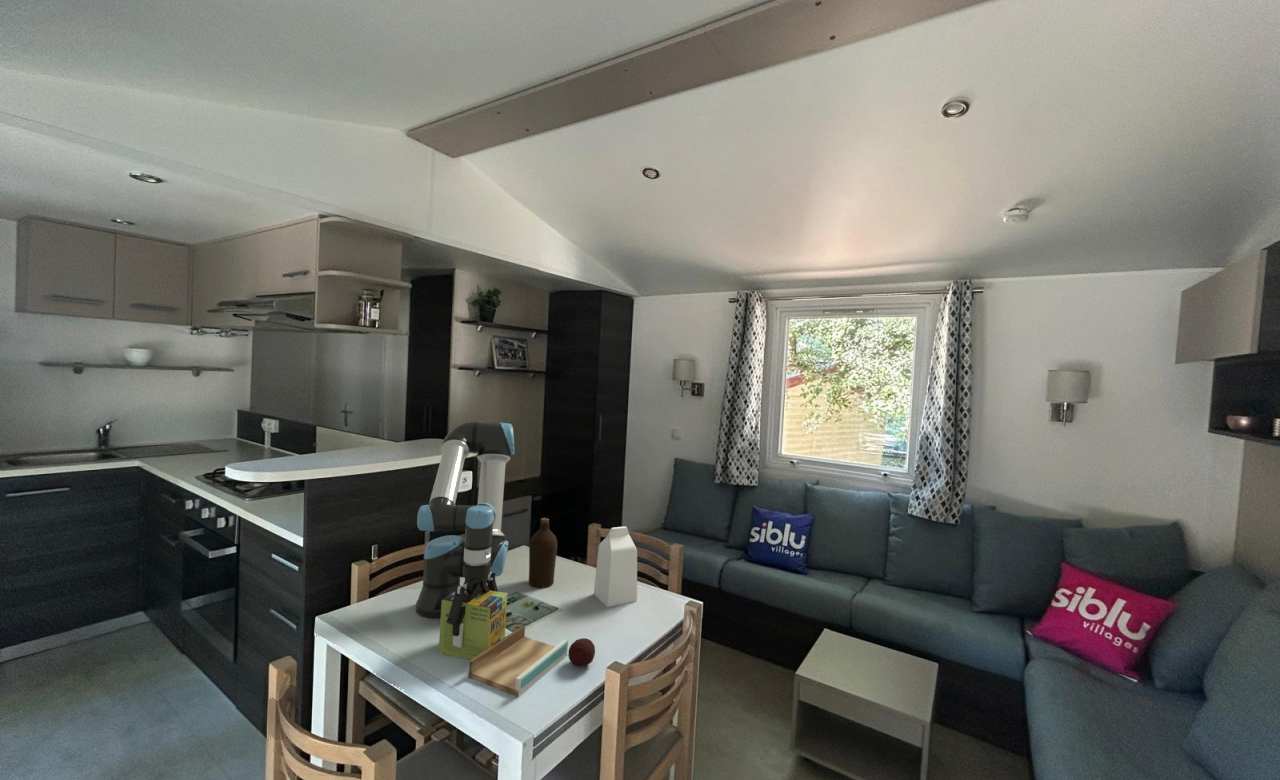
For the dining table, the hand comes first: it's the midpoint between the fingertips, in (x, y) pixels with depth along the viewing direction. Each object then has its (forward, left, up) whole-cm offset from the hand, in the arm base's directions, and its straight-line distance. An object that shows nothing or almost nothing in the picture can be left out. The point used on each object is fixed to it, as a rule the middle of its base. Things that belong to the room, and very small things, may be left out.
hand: (473, 636), depth 145 cm
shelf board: (+17, 0, -4) cm, 17 cm away
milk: (+19, +53, -4) cm, 56 cm away
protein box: (0, 0, -4) cm, 4 cm away
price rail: (+25, 0, -4) cm, 25 cm away
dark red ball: (+31, +9, -4) cm, 33 cm away
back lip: (+9, 0, -4) cm, 10 cm away
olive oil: (-11, +49, -4) cm, 50 cm away
